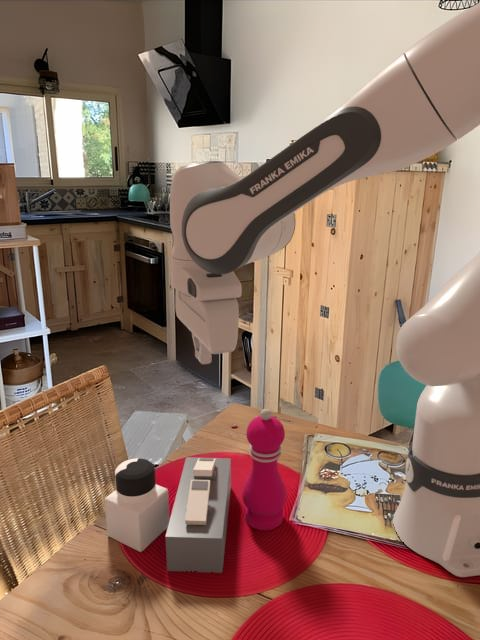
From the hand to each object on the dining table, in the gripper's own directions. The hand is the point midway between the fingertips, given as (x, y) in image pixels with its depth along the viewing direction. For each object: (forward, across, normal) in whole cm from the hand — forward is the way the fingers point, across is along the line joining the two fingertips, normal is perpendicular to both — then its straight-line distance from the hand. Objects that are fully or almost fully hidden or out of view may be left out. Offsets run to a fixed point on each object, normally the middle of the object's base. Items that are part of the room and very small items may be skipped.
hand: (203, 360), depth 79 cm
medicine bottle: (+27, +3, -12) cm, 29 cm away
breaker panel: (+26, +5, -2) cm, 27 cm away
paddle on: (+19, +9, -4) cm, 21 cm away
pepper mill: (+27, +8, +8) cm, 29 cm away
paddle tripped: (+19, +1, 0) cm, 19 cm away
